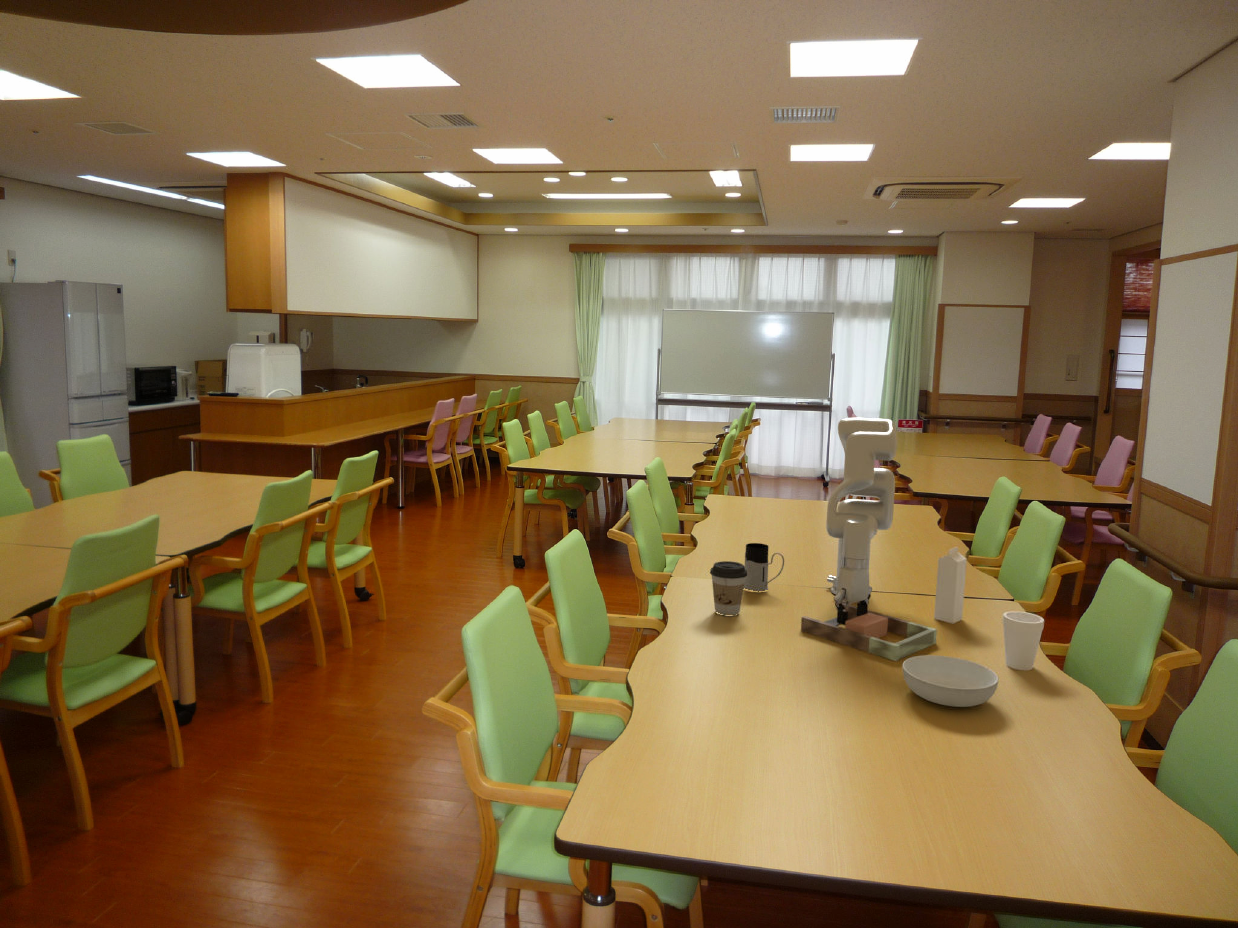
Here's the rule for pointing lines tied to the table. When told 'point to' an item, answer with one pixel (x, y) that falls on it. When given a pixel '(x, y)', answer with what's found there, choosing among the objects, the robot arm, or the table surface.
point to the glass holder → (758, 566)
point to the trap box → (916, 633)
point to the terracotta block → (868, 625)
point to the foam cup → (1021, 638)
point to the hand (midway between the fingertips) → (852, 620)
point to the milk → (950, 587)
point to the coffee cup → (728, 586)
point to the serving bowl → (949, 680)
